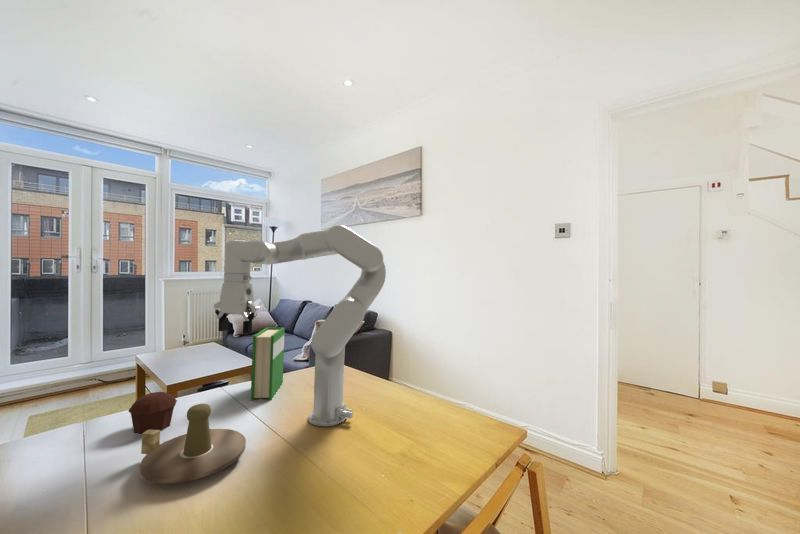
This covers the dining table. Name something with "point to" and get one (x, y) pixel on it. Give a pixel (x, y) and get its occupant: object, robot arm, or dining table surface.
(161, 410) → the muffin
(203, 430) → the cork
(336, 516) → the dining table surface
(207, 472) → the turntable
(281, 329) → the hardback book
